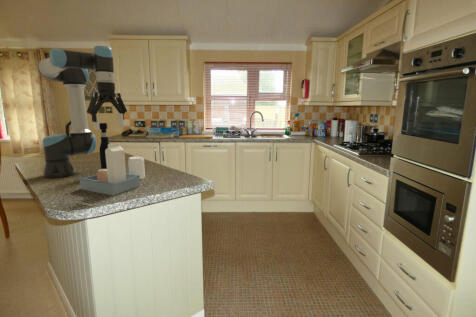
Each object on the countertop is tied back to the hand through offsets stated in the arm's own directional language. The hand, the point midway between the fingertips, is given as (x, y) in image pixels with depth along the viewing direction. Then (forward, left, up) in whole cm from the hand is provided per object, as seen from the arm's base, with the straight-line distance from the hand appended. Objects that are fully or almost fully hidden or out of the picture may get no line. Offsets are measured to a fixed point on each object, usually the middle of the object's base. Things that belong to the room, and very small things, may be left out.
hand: (109, 127), depth 130 cm
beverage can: (-1, +15, -30) cm, 33 cm away
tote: (+1, -4, -29) cm, 30 cm away
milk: (+6, -4, -29) cm, 30 cm away
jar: (-5, -3, -29) cm, 29 cm away
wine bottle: (-23, +14, -29) cm, 40 cm away
